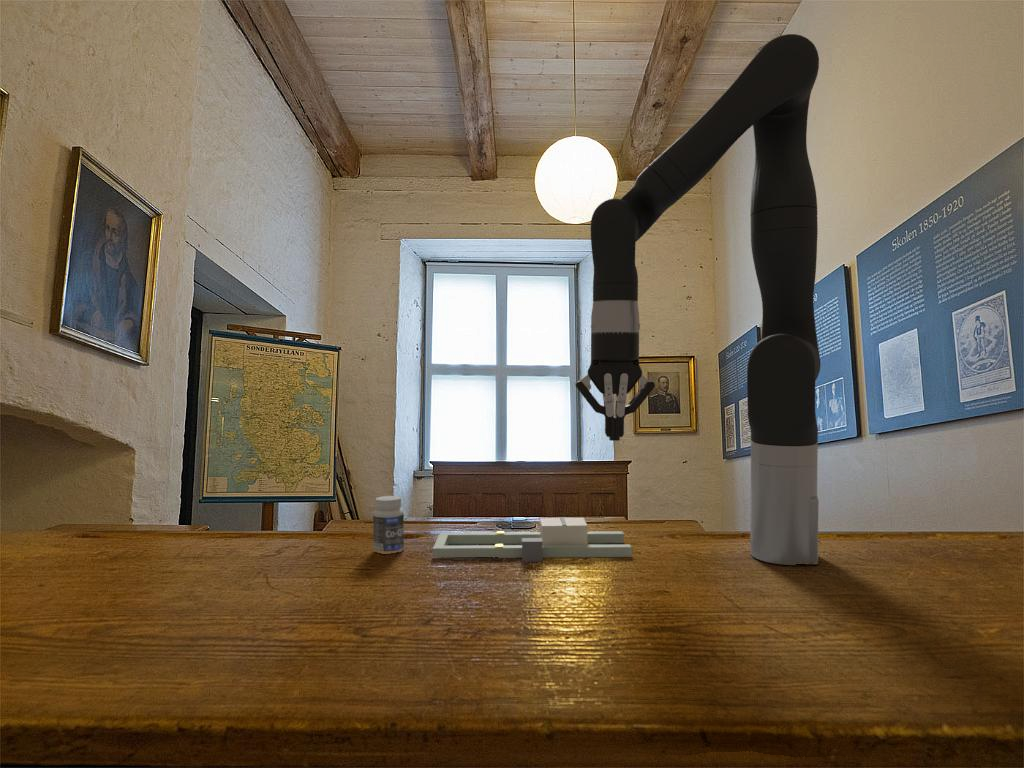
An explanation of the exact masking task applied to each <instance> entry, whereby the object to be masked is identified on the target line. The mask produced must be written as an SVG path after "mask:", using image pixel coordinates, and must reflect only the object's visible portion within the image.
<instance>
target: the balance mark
mask: <svg viewBox="0 0 1024 768" xmlns="http://www.w3.org/2000/svg"><path fill="white" fill-rule="evenodd" d="M496 532H497V535H504V532H505V531H504V530H497V531H496ZM494 545H495V548H503V545H504V544H494Z"/></svg>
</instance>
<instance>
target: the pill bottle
mask: <svg viewBox="0 0 1024 768" xmlns="http://www.w3.org/2000/svg"><path fill="white" fill-rule="evenodd" d="M374 503H375V504H374V505H375V510H374V511H373V512H372V513H373V514H372V521H373V522H372V523H373V526H372V527H373V528H372V531H373V534H372V535H373V536H372V537H373V550H374V549H375V550H378V551H385V552H386V551H399V550H402V549H405V536H404V534H405V529H404V528H405V527H404V524H405V522H404V519H405V517H404V516H405V514H404V510H403V509H402V497H401V496H398V495H383V496H378V497H376V498H375V502H374Z"/></svg>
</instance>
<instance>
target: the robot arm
mask: <svg viewBox="0 0 1024 768" xmlns="http://www.w3.org/2000/svg"><path fill="white" fill-rule="evenodd" d="M819 69H820V57H819V51H818V49H817V47H816V46H815V44H814V43H813V41H811V40H810V39H808V38H807V37H805V36H803V35H800V34H795V33H787V34H783V35H779V36H777V37H774V38H772V39H771V40H770V41H768V42H767V43H765V44H764V45H762V47H761V48H760V50H758V52H757V53H756V54H755V55H754V57H753V58H752V59H751V60H750V62H749V63H748V64H747V65H746V67H745V68H744V69H743V71H742V72H741V73H740V74H739V75H738V77H736V79H735V80H734V81H733V82H732V84H730V86H729V87H728V88H727V89H726V90H725V92H724V93H723V94H722V95H721V96H720V97H719V98H718V99H717V100H716V101H715V103H713V104H712V106H711V107H710V108H709V109H707V111H706V112H705V113H703V115H701V117H700V118H699V119H697V120H696V122H695V123H693V124H692V125H691V126H690V127H689V128H688V129H687V130H686V131H684V133H683V134H682V135H681V136H679V137H678V138H677V139H676V140H675V141H673V143H672V144H670V146H668V147H667V148H666V149H665V150H664V151H663V152H662V153H660V154H659V155H658V156H657V157H656V158H655V159H653V161H652V162H651V163H649V164H648V166H646V167H645V168H644V169H643V170H642V172H640V174H639V175H638V176H637V177H636V180H635V183H634V185H633V186H632V188H631V189H629V190H628V191H627V192H626V193H625V194H624V195H623V196H622V197H621V198H608V199H606V200H604V201H602V202H601V203H599V204H598V205H597V207H596V208H595V209H594V211H593V213H592V216H591V221H590V244H591V254H592V264H593V280H592V309H591V310H592V311H591V315H590V316H591V317H590V365H589V367H588V369H587V374H585V376H584V377H582V378H581V379H580V380H577V381H576V382H575V383H574V386H575V387H576V389H577V390H578V391H579V392H580V394H581V395H582V396H583V398H584V400H585V401H586V402H587V403H588V404H589V406H590V407H591V408H592V409H593V411H594V412H595V413H597V414H601V415H603V416H604V422H605V423H604V434H605V436H606V438H608V440H609V441H611V442H612V441H616V442H617V441H618V442H620V439H621V438H623V437H624V434H625V417H626V416H627V415H629V414H634V413H636V412H637V410H638V409H639V407H640V406H642V404H643V402H644V401H645V400H646V399H647V398H648V396H649V395H650V394H651V392H652V391H653V390H654V389H655V387H656V384H655V382H654V381H650V379H648V378H647V377H646V376H644V375H643V370H642V368H641V366H640V329H641V323H640V312H639V302H638V301H639V300H638V299H639V276H638V270H637V267H636V244H637V243H636V242H637V241H639V240H640V239H641V237H643V236H645V235H646V233H647V232H648V231H649V230H650V229H651V227H653V225H654V224H655V223H656V222H657V221H658V220H659V219H660V217H662V215H663V214H664V213H665V212H666V211H667V210H668V209H669V208H671V207H672V206H673V205H674V204H676V203H677V202H678V201H679V200H680V199H681V198H683V196H685V195H686V194H687V193H688V192H690V191H691V190H692V189H693V188H694V187H695V186H696V185H697V184H699V182H700V181H701V180H702V179H703V178H705V176H707V175H708V174H709V172H710V171H711V170H712V169H713V168H714V166H716V164H718V162H719V161H720V160H721V158H722V157H723V156H724V155H725V154H726V153H727V152H728V150H729V149H730V148H731V147H732V146H733V145H734V144H735V143H736V142H737V140H738V139H739V138H740V137H742V136H743V135H744V133H746V132H747V131H748V130H749V129H750V128H751V127H753V129H752V130H753V138H754V162H753V163H754V164H753V174H752V179H751V192H750V211H749V212H750V245H751V246H750V248H751V254H752V259H753V260H752V261H753V265H754V271H755V275H756V279H757V284H758V287H759V293H760V298H761V304H762V305H761V307H762V321H761V324H762V325H761V335H760V341H758V342H757V343H756V345H754V347H753V348H752V349H751V351H750V354H749V357H748V361H747V369H746V370H747V371H746V381H747V382H746V385H747V387H746V390H747V393H746V394H747V395H746V397H747V398H746V399H747V400H746V401H747V418H748V424H749V428H750V537H749V538H750V539H749V540H750V542H749V543H750V550H749V551H750V555H751V556H752V557H753V558H755V559H757V560H759V561H762V562H765V563H771V564H776V565H785V566H786V565H787V566H797V565H796V564H805V563H817V564H818V565H819V498H818V457H819V455H818V453H819V452H818V449H819V448H818V446H819V445H818V441H819V440H818V439H819V438H818V437H819V429H818V428H819V427H818V423H817V415H816V414H817V413H816V381H817V379H818V377H819V374H820V371H821V363H822V362H821V355H820V349H819V345H818V337H817V329H816V327H817V326H816V318H815V307H814V306H815V305H814V304H815V303H814V301H815V297H814V295H815V283H816V274H817V273H816V271H817V261H818V260H817V259H818V258H817V256H818V255H817V254H818V232H819V231H818V199H817V191H816V190H817V189H816V185H815V181H814V175H813V171H812V168H811V164H810V158H809V154H808V146H807V132H808V117H809V116H808V114H809V106H810V100H811V94H812V91H813V88H814V85H815V83H816V80H817V77H818V74H819ZM591 382H592V383H593V385H594V386H595V388H596V389H597V390H598V391H599V393H601V394H602V398H603V399H602V400H603V405H601V404H600V403H599V402H598V401H597V399H596V398H595V396H594V395H593V394H592V392H591V391H590V390H591V389H592V384H591ZM637 383H638V384H637ZM636 384H637V389H638V391H637V392H636V394H635V395H634V396H633V398H632V399H631V400H630V401H629V403H628V404H627V405H626V402H627V395H628V394H629V393H630V392H631V391H632V390H633V388H634V387H635V386H636ZM614 395H615V405H614ZM614 414H615V415H614Z"/></svg>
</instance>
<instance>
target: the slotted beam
mask: <svg viewBox="0 0 1024 768" xmlns="http://www.w3.org/2000/svg"><path fill="white" fill-rule="evenodd" d="M624 535H625V534H624V532H623V531H621V530H620V531H619V530H617V531H613V530H612V531H611V530H610V531H587V545H542V538H540V531H506V532H505V531H504V535H497V531H493V532H492V531H490V532H487V531H485V532H484V531H483V532H482V531H481V532H478V531H477V532H440V533H439V534H438V535H437V539H436V541H435V543H434V544H433V547H432V558H433V557H493V558H492V559H496V558H495V557H498V558H497V559H499V558H500V559H508V558H509V559H513V558H514V559H515V558H516V559H518V558H519V559H521V558H522V559H521V561H522V563H524V562H526V563H530V562H531V563H533V562H537V563H538V562H543V559H545V558H549V559H550V558H632V554H633V553H632V551H633V550H632V546H631V544H628V543H627V544H626V543H625V536H624ZM493 544H494V545H493ZM495 544H503V548H495ZM514 544H515V545H514Z"/></svg>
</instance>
